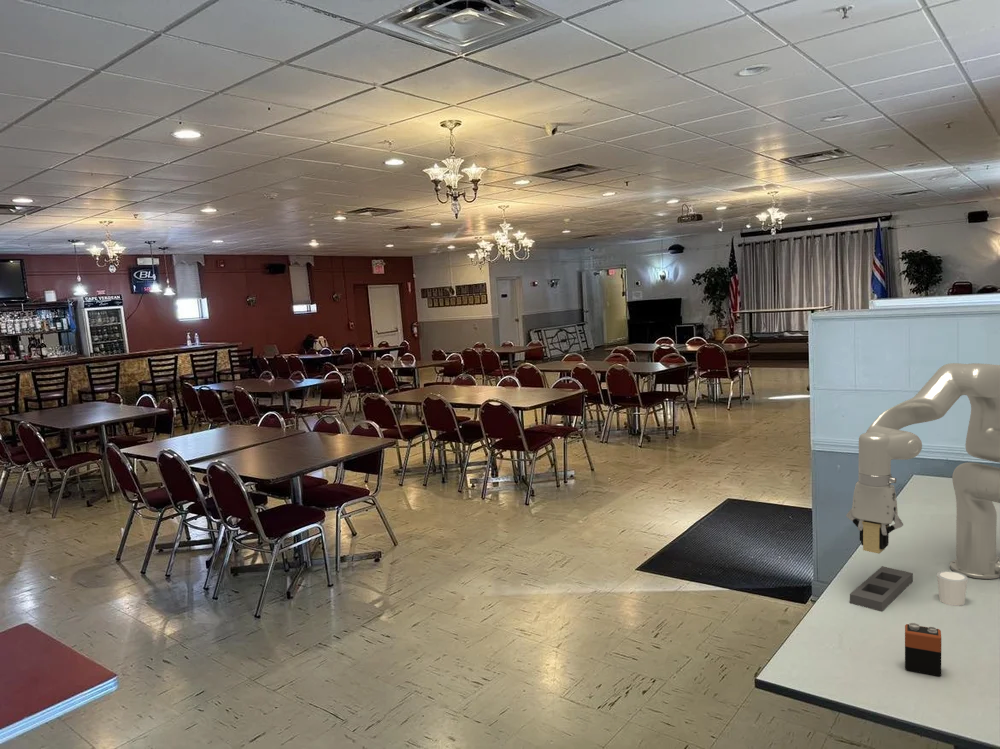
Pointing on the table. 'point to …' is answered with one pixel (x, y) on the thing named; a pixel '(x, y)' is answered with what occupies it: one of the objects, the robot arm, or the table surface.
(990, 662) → the table surface
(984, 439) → the robot arm
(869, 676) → the table surface
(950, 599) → the white short cylinder
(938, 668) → the battery
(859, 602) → the rail
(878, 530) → the tan upright block
